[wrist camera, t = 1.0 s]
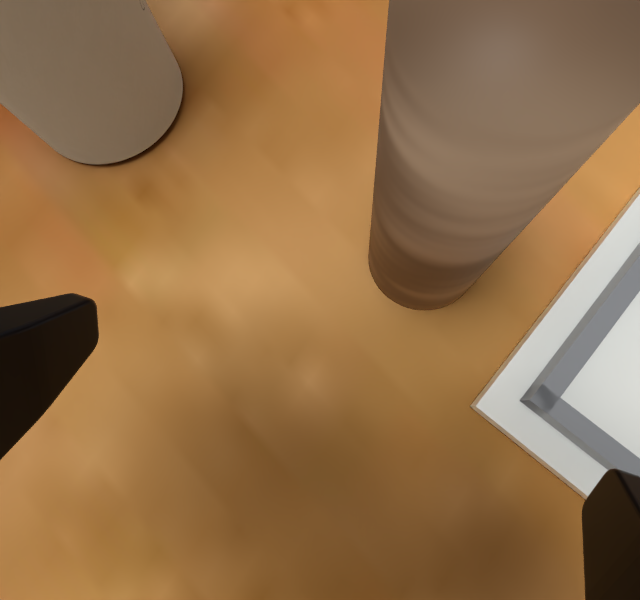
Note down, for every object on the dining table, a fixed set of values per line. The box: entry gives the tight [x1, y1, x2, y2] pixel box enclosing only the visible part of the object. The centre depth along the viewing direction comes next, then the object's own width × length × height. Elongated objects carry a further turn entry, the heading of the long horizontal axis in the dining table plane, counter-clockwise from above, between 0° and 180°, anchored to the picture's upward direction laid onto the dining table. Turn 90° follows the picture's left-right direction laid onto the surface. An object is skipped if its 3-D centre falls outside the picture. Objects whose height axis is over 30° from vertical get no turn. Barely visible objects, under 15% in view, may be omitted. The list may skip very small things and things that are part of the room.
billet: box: [368, 0, 640, 310], centre depth 15 cm, size 5×5×14 cm
